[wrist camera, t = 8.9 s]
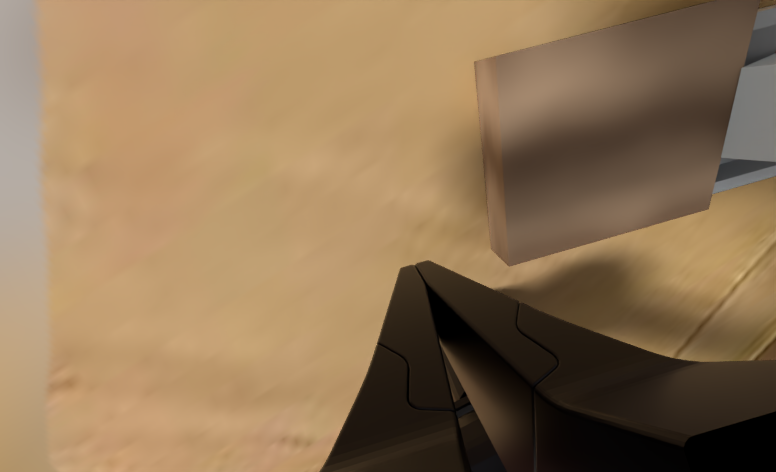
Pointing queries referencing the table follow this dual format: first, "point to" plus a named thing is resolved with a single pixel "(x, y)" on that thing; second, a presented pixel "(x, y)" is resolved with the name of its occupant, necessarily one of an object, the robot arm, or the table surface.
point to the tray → (768, 37)
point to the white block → (753, 114)
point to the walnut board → (608, 127)
